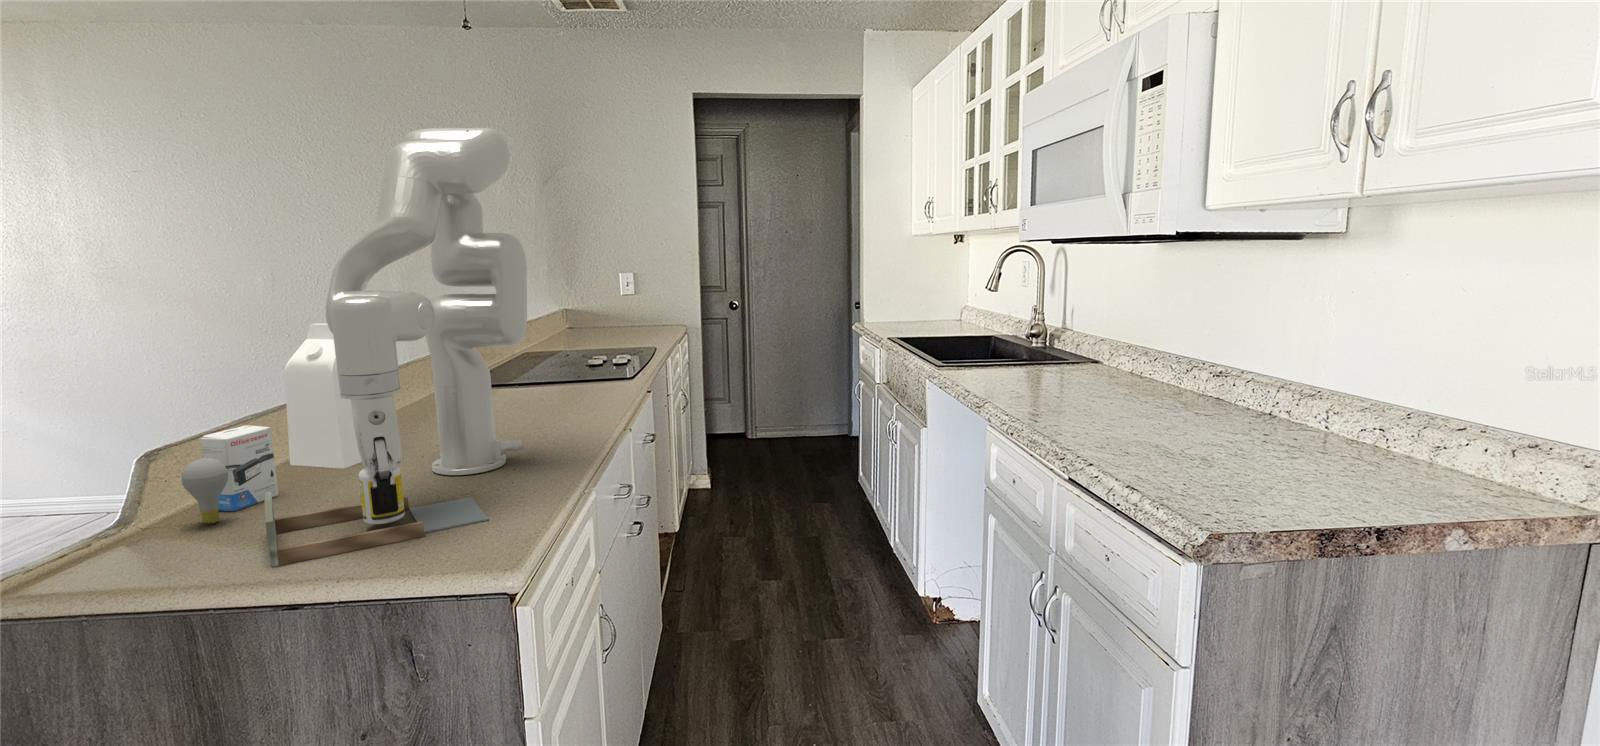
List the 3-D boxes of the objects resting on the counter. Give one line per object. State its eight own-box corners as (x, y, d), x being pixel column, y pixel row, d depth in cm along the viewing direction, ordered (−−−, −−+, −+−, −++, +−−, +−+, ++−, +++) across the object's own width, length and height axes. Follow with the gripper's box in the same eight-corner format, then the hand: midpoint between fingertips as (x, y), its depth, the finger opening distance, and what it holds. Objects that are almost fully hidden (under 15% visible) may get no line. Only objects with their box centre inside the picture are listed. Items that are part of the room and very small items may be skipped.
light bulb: (205, 532, 113) (195, 465, 111) (179, 528, 115) (169, 461, 113) (243, 519, 118) (234, 455, 116) (218, 515, 120) (209, 452, 118)
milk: (389, 452, 156) (376, 321, 151) (344, 468, 145) (328, 327, 140) (338, 449, 158) (324, 320, 154) (290, 465, 147) (272, 326, 143)
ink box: (234, 512, 121) (224, 438, 119) (207, 510, 122) (197, 437, 120) (280, 495, 130) (271, 425, 128) (255, 493, 131) (246, 424, 129)
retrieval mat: (471, 499, 126) (470, 497, 126) (489, 520, 117) (489, 518, 117) (409, 510, 121) (409, 508, 121) (423, 533, 112) (422, 531, 112)
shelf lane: (408, 508, 122) (404, 470, 121) (424, 536, 110) (420, 495, 109) (269, 533, 112) (264, 492, 111) (271, 567, 100) (265, 522, 99)
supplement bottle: (413, 514, 116) (407, 450, 114) (383, 527, 111) (375, 460, 109) (385, 510, 118) (378, 447, 116) (354, 523, 113) (346, 457, 111)
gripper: (408, 390, 106) (421, 518, 109) (391, 372, 120) (403, 486, 123) (344, 397, 102) (359, 530, 105) (334, 378, 116) (348, 495, 119)
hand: (383, 505), depth 114 cm, fingers closed on supplement bottle, 5 cm apart
